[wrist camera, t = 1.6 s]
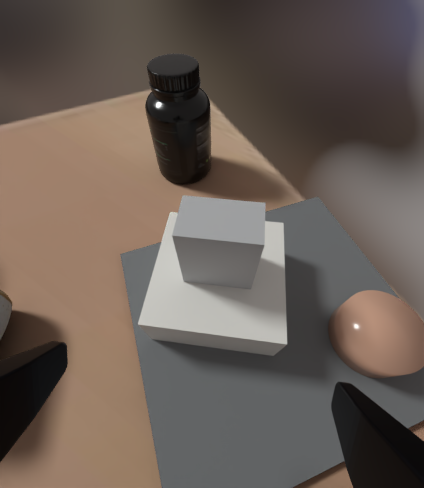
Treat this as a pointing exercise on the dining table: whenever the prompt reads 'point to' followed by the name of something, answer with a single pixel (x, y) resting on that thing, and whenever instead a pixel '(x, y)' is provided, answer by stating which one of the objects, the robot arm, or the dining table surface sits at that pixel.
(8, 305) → the ceramic mug
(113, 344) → the dining table surface
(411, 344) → the tan short cylinder
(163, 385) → the mat
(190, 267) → the cover
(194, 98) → the supplement bottle
